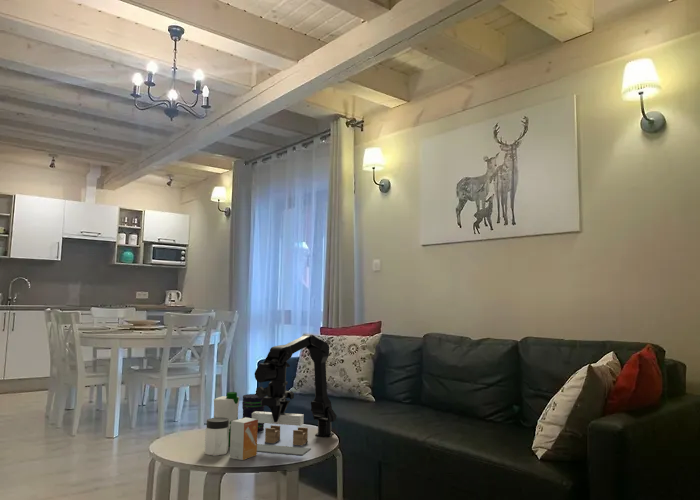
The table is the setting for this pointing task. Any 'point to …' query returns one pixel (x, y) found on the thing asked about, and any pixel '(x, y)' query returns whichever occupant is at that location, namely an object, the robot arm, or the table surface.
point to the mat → (281, 449)
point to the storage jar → (252, 407)
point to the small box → (243, 438)
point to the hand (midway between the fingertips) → (277, 421)
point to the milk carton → (227, 408)
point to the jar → (217, 436)
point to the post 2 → (300, 436)
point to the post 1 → (272, 434)
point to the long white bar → (283, 418)
